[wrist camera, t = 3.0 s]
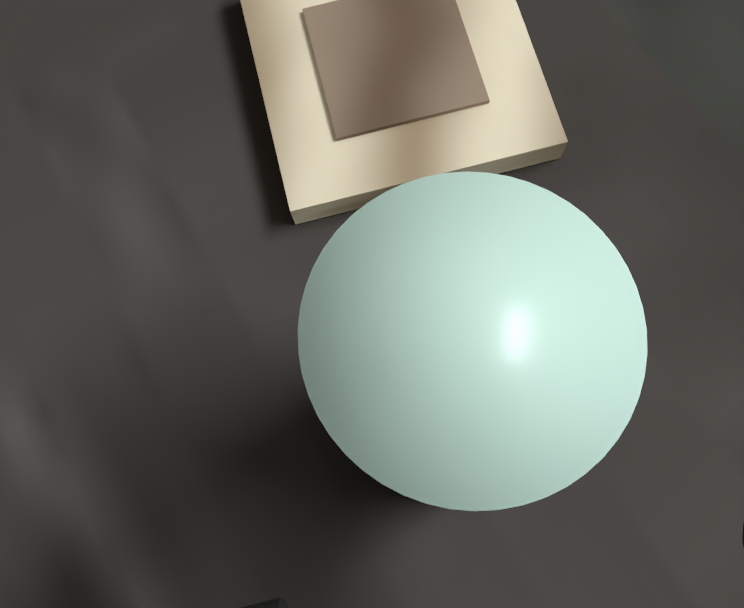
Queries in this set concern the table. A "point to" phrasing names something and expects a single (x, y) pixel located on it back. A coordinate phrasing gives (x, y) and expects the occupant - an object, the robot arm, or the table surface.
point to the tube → (472, 341)
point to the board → (396, 94)
